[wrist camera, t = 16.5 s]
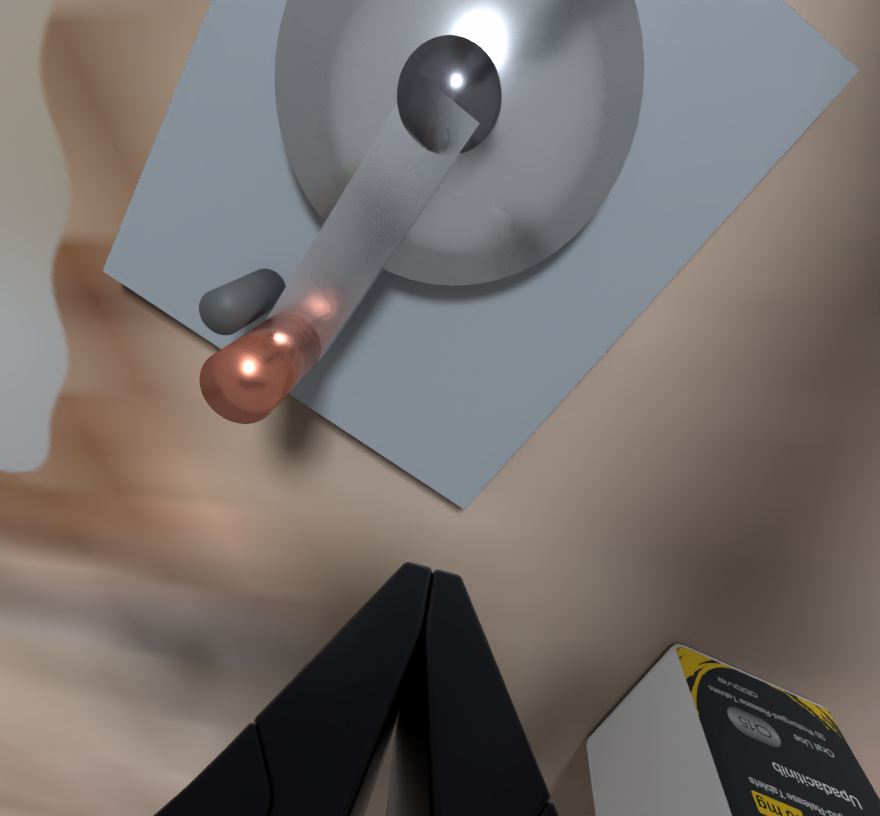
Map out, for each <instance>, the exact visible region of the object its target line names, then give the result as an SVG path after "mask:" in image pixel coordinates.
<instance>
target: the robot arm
mask: <svg viewBox="0 0 880 816" xmlns="http://www.w3.org/2000/svg"><path fill="white" fill-rule="evenodd" d="M398 712H399V713H398ZM397 716H398V718H397ZM396 719H397V723H396ZM395 723H396V730H395V737H394V745H393V754H392V764H391V774H390V783H389V793H388V802H387V812H386V816H559V815H558V813H557V810H556V808H555V805H554V804H553V803H549V801H550V794H549V791H548V789H547V786H546V784H545V781H544V779H543V776H542V774H541V772H540V769H539V767H538V764H537V762H536V759H535V757H534V754H533V752H532V749H531V747H530V745H529V742H528V740H527V737H526V735H525V732H524V730H523V727H522V725H521V722H520V720H519V718H518V715H517V713H516V710H515V708H514V705H513V703H512V700H511V698H510V695H509V693H508V691H507V688H506V686H505V683H504V681H503V678H502V676H501V673H500V671H499V668H498V666H497V664H496V661H495V659H494V656H493V654H492V651H491V649H490V646H489V644H488V641H487V639H486V637H485V634H484V632H483V629H482V627H481V624H480V622H479V619H478V617H477V614H476V612H475V610H474V607H473V605H472V602H471V600H470V597H469V595H468V592H467V590H466V587H465V585H464V583H463V580H462V578H461V577H460V576H459V575H457V574H453V573H449V572H445V571H441V570H435V571H434V572H433V573H432V570H431V569H430V568H429V567H426V566H422V565H418V564H414V563H411V562H407V563H404V564H403V565H402V566H401V567H400V568H399V569H398V570H397V571H396V572H395V573H394V574H393V575H392V576H391V577H390V578H389V580H388V581H387V582H386V583H385V584H384V585H383V586H382V587H381V588H380V589H379V590H378V591H377V592H376V593H375V594H374V595H373V596H372V597H371V598H370V599H369V600H368V601H367V602H366V603H365V604H364V606H363V607H362V608H361V609H360V610H359V611H358V612H357V613H356V614H355V615H354V616H353V617H352V618H351V619H350V620H349V621H348V622H347V623H346V624H345V625H344V626H343V627H342V628H341V629H340V630H339V631H338V633H337V634H336V635H335V636H334V637H333V638H332V639H331V640H330V641H329V642H328V643H327V644H326V645H325V646H324V647H323V648H322V649H321V650H320V651H319V652H318V653H317V654H316V655H315V656H314V657H313V659H312V660H311V661H310V662H309V663H308V664H307V665H306V666H305V667H304V668H303V669H302V670H301V671H300V672H299V673H298V674H297V675H296V676H295V677H294V678H293V679H292V680H291V681H290V682H289V683H288V685H287V686H286V687H285V688H284V689H283V690H282V691H281V692H280V693H279V694H278V695H277V696H276V697H275V698H274V699H273V700H272V701H271V702H270V703H269V704H268V705H267V706H266V707H265V708H264V709H263V711H262V712H261V713H260V714H259V715H258V716H257V717H256V718H255V720H254V724H253V723H251V724H249V725H248V726H247V727H246V728H245V729H244V730H243V731H242V732H241V733H240V734H239V735H238V736H237V737H236V738H235V739H234V740H233V741H232V742H231V743H230V744H229V745H228V746H227V747H226V749H225V750H223V751H222V752H221V753H220V754H219V755H218V756H217V757H216V758H215V759H214V760H213V761H212V762H211V763H210V764H209V765H208V766H207V767H206V768H205V769H204V770H203V771H202V772H201V773H200V774H199V775H198V776H197V777H196V778H195V779H194V780H193V781H192V782H191V783H190V784H189V785H188V786H187V787H186V788H184V789H183V790H182V791H181V792H180V793H179V794H178V795H177V796H175V797H174V798H173V799H172V800H171V801H170V802H169V803H167V804H166V805H165V806H164V807H163V808H162V809H161V810H160V811H158V812H157V813H156V814H155V815H154V816H364V814H365V811H366V808H367V805H368V802H369V800H370V797H371V794H372V791H373V788H374V785H375V782H376V779H377V777H378V774H379V771H380V768H381V765H382V762H383V759H384V756H385V754H386V751H387V748H388V745H389V742H390V739H391V736H392V732H393V729H394V726H395Z"/></svg>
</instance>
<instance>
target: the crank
mask: <svg viewBox="0 0 880 816" xmlns="http://www.w3.org/2000/svg"><path fill="white" fill-rule="evenodd" d="M274 82H275V97H276V109H277V115H278V120H279V126H280V131H281V135H282V139H283V142H284V146H285V149H286V152H287V156H288V159H289V161H290V163H291V166H292V168H293V171H294V173H295V175H296V178H297V180H298V182H299V184H300V186H301V187H302V189H303V191H304V193H305V194H306V196H307V198H308V200H309V202H310V203H311V204H312V206H313V207H314V209H315V210H316V211H317V213H318V214H319V215H320V217H321V218H322V220H323V221H324V222H325V223H324V225H323V226H322V228H321V230H320V231H319V233H318V235H317V236H316V238H315V240H314V241H313V243H312V245H311V246H310V248H309V250H308V251H307V253H306V255H305V256H304V258H303V259H302V261H301V263H300V264H299V266H298V268H297V269H296V271H295V273H294V274H293V276H292V278H291V279H290V281H289V283H288V284H287V286H286V288H285V289H284V291H283V293H282V294H281V296H280V297H279V299H278V301H277V302H276V304H275V306H274V307H273V309H272V311H271V312H270V314H269V316H268V317H267V319H266V320H265V321H264V322H262V323H261V324H259V325H258V326H256V327H255V328H253V329H252V330H250V331H249V332H247V333H246V334H244V335H242V336H241V337H239V338H238V339H236V340H235V341H233V342H232V343H230V344H229V345H227V346H226V347H224V348H223V349H221V350H220V351H218V352H217V353H215V354H213V355H212V356H211V357H209V358H208V359H207V360H206V362H205V363H204V365H203V367H202V369H201V372H200V388H201V391H202V394H203V396H204V398H205V400H206V402H207V403H208V404H209V406H210V407H211V408H212V409H213V410H214V411H215V412H216V413H217V414H219V415H220V416H222V417H223V418H225V419H227V420H229V421H232V422H236V423H241V424H250V423H255V422H258V421H260V420H262V419H264V418H265V417H266V416H267V415H268V414H269V413H270V412H271V411H272V410H273V409H274V408H275V407H276V406H277V405H278V404H279V403H280V402H281V401H282V400H283V399H284V398H285V397H286V396H287V395H288V393H289V392H290V391H291V390H292V389H293V388H294V387H295V386H296V385H297V384H298V383H299V382H300V381H301V380H302V379H303V378H304V377H305V376H306V375H307V373H308V372H309V371H310V370H311V369H312V368H313V367H314V366H315V365H316V364H317V362H318V361H319V360H320V359H321V358H322V357H323V356H324V355H325V354H326V353H327V352H328V350H329V349H330V347H331V346H332V345H333V343H334V342H335V340H336V339H337V337H338V336H339V334H340V333H341V331H342V330H343V328H344V327H345V325H346V324H347V323H348V321H349V320H350V318H351V317H352V315H353V314H354V312H355V311H356V309H357V308H358V306H359V305H360V303H361V302H362V301H363V299H364V298H365V296H366V295H367V293H368V292H369V290H370V289H371V287H372V286H373V284H374V283H375V281H376V280H377V278H378V277H379V276H380V274H381V273H382V271H383V270H384V269H385V270H387V271H389V272H391V273H393V274H396V275H399V276H402V277H405V278H408V279H411V280H414V281H419V282H424V283H429V284H436V285H450V286H459V285H475V284H481V283H486V282H491V281H496V280H499V279H502V278H505V277H508V276H511V275H514V274H517V273H519V272H521V271H523V270H525V269H528V268H530V267H532V266H534V265H536V264H538V263H539V262H541V261H542V260H544V259H545V258H547V257H549V256H550V255H552V254H553V253H555V252H556V251H558V250H559V249H560V248H561V247H562V246H563V245H565V244H566V243H567V242H568V241H569V240H571V239H572V238H573V237H574V236H575V235H576V234H577V233H578V232H579V231H580V230H581V229H582V228H583V227H584V226H585V225H586V223H587V222H588V221H589V220H590V219H591V218H592V217H593V215H594V214H595V213H596V211H597V210H598V209H599V207H600V206H601V205H602V203H603V202H604V200H605V199H606V198H607V196H608V194H609V193H610V191H611V189H612V187H613V185H614V184H615V182H616V180H617V178H618V177H619V175H620V173H621V170H622V168H623V166H624V163H625V161H626V158H627V156H628V154H629V151H630V149H631V145H632V142H633V138H634V135H635V132H636V128H637V125H638V120H639V114H640V109H641V103H642V97H643V83H644V53H643V38H642V32H641V27H640V21H639V16H638V11H637V6H636V3H635V0H287V2H286V6H285V9H284V13H283V16H282V20H281V24H280V28H279V35H278V41H277V48H276V55H275V79H274Z"/></svg>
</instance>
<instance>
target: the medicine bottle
mask: <svg viewBox="0 0 880 816" xmlns="http://www.w3.org/2000/svg"><path fill="white" fill-rule="evenodd" d="M586 746H587V753H588V761H589V769H590V776H591V784H592V792H593V800H594V807H595V815H596V816H880V799H879V797H878V796H877V794H876V792H875V791H874V789H873V787H872V785H871V784H870V782H869V780H868V778H867V777H866V775H865V773H864V771H863V770H862V768H861V766H860V765H859V763H858V761H857V759H856V758H855V756H854V754H853V752H852V751H851V749H850V747H849V746H848V744H847V742H846V740H845V739H844V737H843V735H842V733H841V732H840V730H839V728H838V726H837V725H836V723H835V721H834V720H833V718H832V716H831V714H830V713H829V711H828V710H827V709H826V708H825V707H823V706H822V705H819V704H817V703H815V702H813V701H810V700H808V699H806V698H803V697H801V696H799V695H797V694H794V693H792V692H790V691H788V690H785V689H783V688H781V687H778V686H776V685H774V684H772V683H769V682H767V681H765V680H762V679H760V678H758V677H756V676H753V675H751V674H749V673H746V672H744V671H742V670H740V669H737V668H735V667H733V666H731V665H728V664H726V663H724V662H721V661H719V660H717V659H715V658H712V657H710V656H708V655H705V654H703V653H701V652H699V651H696V650H694V649H692V648H689V647H687V646H685V645H682V644H675V645H673V646H672V647H671V648H670V649H669V650H668V651H667V652H666V653H665V654H664V655H663V656H662V658H661V659H660V660H659V661H658V662H657V663H656V664H655V665H654V666H653V667H652V669H651V670H650V671H649V672H648V673H647V674H646V675H645V676H644V677H643V678H642V680H641V681H640V682H639V683H638V684H637V685H636V686H635V687H634V688H633V689H632V691H631V692H630V693H629V694H628V695H627V696H626V697H625V698H624V699H623V701H622V702H621V703H620V704H619V705H618V706H617V707H616V708H615V709H614V710H613V712H612V713H611V714H610V715H609V716H608V717H607V718H606V719H605V720H604V721H603V723H602V724H601V725H600V726H599V727H598V728H597V729H596V730H595V731H594V733H593V734H592V735H591V736H590V737H589V738H588V740H587V744H586Z"/></svg>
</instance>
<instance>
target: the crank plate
mask: <svg viewBox="0 0 880 816" xmlns="http://www.w3.org/2000/svg"><path fill="white" fill-rule="evenodd" d="M286 2H287V0H211V2H210V5H209V7H208V10H207V12H206V15H205V17H204V20H203V22H202V25H201V27H200V30H199V32H198V35H197V37H196V40H195V42H194V45H193V47H192V50H191V52H190V55H189V57H188V60H187V62H186V65H185V67H184V70H183V72H182V75H181V77H180V80H179V82H178V85H177V87H176V90H175V92H174V95H173V97H172V100H171V102H170V105H169V107H168V110H167V112H166V115H165V117H164V119H163V122H162V124H161V127H160V129H159V132H158V134H157V137H156V139H155V142H154V144H153V147H152V149H151V152H150V154H149V157H148V159H147V162H146V164H145V167H144V169H143V172H142V174H141V177H140V179H139V182H138V184H137V187H136V189H135V192H134V194H133V197H132V199H131V202H130V204H129V207H128V209H127V212H126V214H125V217H124V219H123V222H122V224H121V227H120V229H119V232H118V234H117V237H116V239H115V242H114V244H113V247H112V249H111V252H110V254H109V257H108V259H107V262H106V264H105V267H104V269H103V271H104V272H105V273H107V274H108V275H110V276H111V277H113V278H114V279H116V280H117V281H119V282H120V283H122V284H123V285H125V286H126V287H128V288H129V289H131V290H132V291H134V292H135V293H137V294H138V295H140V296H141V297H143V298H144V299H146V300H147V301H149V302H150V303H152V304H154V305H155V306H157V307H158V308H160V309H161V310H163V311H164V312H166V313H167V314H169V315H170V316H172V317H173V318H175V319H176V320H178V321H179V322H181V323H182V324H184V325H185V326H187V327H188V328H190V329H191V330H193V331H194V332H196V333H197V334H199V335H200V336H202V337H203V338H205V339H207V340H208V341H210V342H211V343H213V344H214V345H216V346H217V347H219V348H220V349H223V348H224V347H226V346H227V345H229V344H230V343H232V342H233V341H235V340H236V339H238V338H239V337H241V336H242V335H244V334H246V333H247V332H249V331H250V330H252V329H253V328H255V327H256V326H258V325H259V324H261V323H262V322H264V321H265V320H266V319H267V317H268V316H269V314H270V312H271V311H272V309H273V307H274V306H275V304H276V302H277V301H278V299H279V297H280V296H281V294H282V293H283V291H284V289H285V288H286V286H287V284H288V283H289V281H290V279H291V278H292V276H293V274H294V273H295V271H296V269H297V268H298V266H299V264H300V263H301V261H302V259H303V258H304V256H305V255H306V253H307V251H308V250H309V248H310V246H311V245H312V243H313V241H314V240H315V238H316V236H317V235H318V233H319V231H320V230H321V228H322V226H323V225H324V223H325V222H324V221H323V220H322V218H321V217H320V215H319V214H318V213H317V211H316V210H315V209H314V207H313V206H312V204H311V203H310V202H309V200H308V198H307V196H306V194H305V193H304V191H303V189H302V187H301V186H300V184H299V182H298V180H297V178H296V175H295V173H294V171H293V168H292V166H291V163H290V161H289V159H288V156H287V152H286V149H285V146H284V142H283V139H282V135H281V131H280V126H279V120H278V115H277V109H276V97H275V82H274V79H275V55H276V48H277V41H278V35H279V28H280V24H281V20H282V16H283V13H284V9H285V6H286ZM635 3H636V6H637V11H638V16H639V21H640V27H641V32H642V38H643V53H644V83H643V97H642V103H641V109H640V114H639V120H638V125H637V128H636V132H635V135H634V138H633V142H632V145H631V149H630V151H629V154H628V156H627V158H626V161H625V163H624V166H623V168H622V170H621V173H620V175H619V177H618V178H617V180H616V182H615V184H614V185H613V187H612V189H611V191H610V193H609V194H608V196H607V198H606V199H605V200H604V202H603V203H602V205H601V206H600V207H599V209H598V210H597V211H596V213H595V214H594V215H593V217H592V218H591V219H590V220H589V221H588V222H587V223H586V225H585V226H584V227H583V228H582V229H581V230H580V231H579V232H578V233H577V234H576V235H575V236H574V237H573V238H572V239H571V240H569V241H568V242H567V243H566V244H565V245H563V246H562V247H561V248H560V249H559V250H558V251H556V252H555V253H553V254H552V255H550V256H549V257H547V258H545V259H544V260H542V261H541V262H539V263H538V264H536V265H534V266H532V267H530V268H528V269H525V270H523V271H521V272H519V273H517V274H514V275H511V276H508V277H505V278H502V279H499V280H496V281H491V282H486V283H481V284H475V285H459V286H450V285H436V284H429V283H424V282H419V281H414V280H411V279H408V278H405V277H402V276H399V275H396V274H393V273H391V272H389V271H387V270H385V269H384V270H383V271H382V273H381V274H380V276H379V277H378V278H377V280H376V281H375V283H374V284H373V286H372V287H371V289H370V290H369V292H368V293H367V295H366V296H365V298H364V299H363V301H362V302H361V303H360V305H359V306H358V308H357V309H356V311H355V312H354V314H353V315H352V317H351V318H350V320H349V321H348V323H347V324H346V325H345V327H344V328H343V330H342V331H341V333H340V334H339V336H338V337H337V339H336V340H335V342H334V343H333V345H332V346H331V347H330V349H329V350H328V352H327V353H326V354H325V355H324V356H323V357H322V358H321V359H320V360H319V361H318V362H317V364H316V365H315V366H314V367H313V368H312V369H311V370H310V371H309V372H308V373H307V375H306V376H305V377H304V378H303V379H302V380H301V381H300V382H299V383H298V384H297V385H296V386H295V387H294V388H293V389H292V390H291V391H290V392H289V393H288V394H290V395H291V396H293V397H294V398H296V399H297V400H299V401H300V402H302V403H303V404H305V405H306V406H308V407H309V408H311V409H313V410H314V411H316V412H317V413H319V414H320V415H322V416H323V417H325V418H326V419H328V420H329V421H331V422H332V423H334V424H335V425H337V426H338V427H340V428H341V429H343V430H344V431H346V432H347V433H349V434H350V435H352V436H353V437H355V438H356V439H358V440H359V441H361V442H362V443H364V444H365V445H367V446H369V447H370V448H372V449H373V450H375V451H376V452H378V453H379V454H381V455H382V456H384V457H385V458H387V459H388V460H390V461H391V462H393V463H394V464H396V465H397V466H399V467H400V468H402V469H403V470H405V471H406V472H408V473H409V474H411V475H412V476H414V477H415V478H417V479H418V480H420V481H422V482H423V483H425V484H426V485H428V486H429V487H431V488H432V489H434V490H435V491H437V492H438V493H440V494H441V495H443V496H444V497H446V498H447V499H449V500H450V501H452V502H453V503H455V504H456V505H458V506H459V507H461V508H462V509H465V508H466V507H467V506H468V505H469V503H470V502H471V501H472V500H473V499H474V498H475V497H476V496H477V495H478V493H479V492H480V491H481V490H482V489H483V488H484V487H485V486H486V485H487V483H488V482H489V481H490V480H491V479H492V478H493V477H494V476H495V475H496V473H497V472H498V471H499V470H500V469H501V468H502V467H503V466H504V465H505V463H506V462H507V461H508V460H509V459H510V458H511V457H512V456H513V455H514V453H515V452H516V451H517V450H518V449H519V448H520V447H521V446H522V445H523V444H524V442H525V441H526V440H527V439H528V438H529V437H530V436H531V435H532V434H533V432H534V431H535V430H536V429H537V428H538V427H539V426H540V425H541V424H542V422H543V421H544V420H545V419H546V418H547V417H548V416H549V415H550V414H551V412H552V411H553V410H554V409H555V408H556V407H557V406H558V405H559V404H560V402H561V401H562V400H563V399H564V398H565V397H566V396H567V395H568V394H569V392H570V391H571V390H572V389H573V388H574V387H575V386H576V385H577V384H578V382H579V381H580V380H581V379H582V378H583V377H584V376H585V375H586V374H587V372H588V371H589V370H590V369H591V368H592V367H593V366H594V365H595V364H596V362H597V361H598V360H599V359H600V358H601V357H602V356H603V355H604V354H605V352H606V351H607V350H608V349H609V348H610V347H611V346H612V345H613V344H614V342H615V341H616V340H617V339H618V338H619V337H620V336H621V335H622V334H623V332H624V331H625V330H626V329H627V328H628V327H629V326H630V325H631V324H632V322H633V321H634V320H635V319H636V318H637V317H638V316H639V315H640V314H641V312H642V311H643V310H644V309H645V308H646V307H647V306H648V305H649V304H650V302H651V301H652V300H653V299H654V298H655V297H656V296H657V295H658V294H659V292H660V291H661V290H662V289H663V288H664V287H665V286H666V285H667V284H668V282H669V281H670V280H671V279H672V278H673V277H674V276H675V275H676V274H677V272H678V271H679V270H680V269H681V268H682V267H683V266H684V265H685V264H686V262H687V261H688V260H689V259H690V258H691V257H692V256H693V255H694V254H695V252H696V251H697V250H698V249H699V248H700V247H701V246H702V245H703V244H704V242H705V241H706V240H707V239H708V238H709V237H710V236H711V235H712V234H713V232H714V231H715V230H716V229H717V228H718V227H719V226H720V225H721V224H722V222H723V221H724V220H725V219H726V218H727V217H728V216H729V215H730V214H731V213H732V211H733V210H734V209H735V208H736V207H737V206H738V205H739V204H740V203H741V201H742V200H743V199H744V198H745V197H746V196H747V195H748V194H749V193H750V191H751V190H752V189H753V188H754V187H755V186H756V185H757V184H758V183H759V181H760V180H761V179H762V178H763V177H764V176H765V175H766V174H767V173H768V171H769V170H770V169H771V168H772V167H773V166H774V165H775V164H776V163H777V161H778V160H779V159H780V158H781V157H782V156H783V155H784V154H785V153H786V151H787V150H788V149H789V148H790V147H791V146H792V145H793V144H794V143H795V141H796V140H797V139H798V138H799V137H800V136H801V135H802V134H803V133H804V131H805V130H806V129H807V128H808V127H809V126H810V125H811V124H812V123H813V121H814V120H815V119H816V118H817V117H818V116H819V115H820V114H821V113H822V111H823V110H824V109H825V108H826V107H827V106H828V105H829V104H830V103H831V101H832V100H833V99H834V98H835V97H836V96H837V95H838V94H839V93H840V91H841V90H842V89H843V88H844V87H845V86H846V85H847V84H848V83H849V81H850V80H851V79H852V78H853V77H854V76H855V75H856V74H857V73H858V71H859V69H858V68H857V67H856V66H854V65H853V64H852V63H851V62H850V61H849V60H848V59H847V58H846V57H845V56H844V55H843V54H841V53H840V52H839V51H838V50H837V49H836V48H835V47H834V46H833V45H832V44H831V43H830V42H829V41H827V40H826V39H825V38H824V37H823V36H822V35H821V34H820V33H819V32H818V31H817V30H816V29H814V28H813V27H812V26H811V25H810V24H809V23H808V22H807V21H806V20H805V19H804V18H803V17H801V16H800V15H799V14H798V13H797V12H796V11H795V10H794V9H793V8H792V7H791V6H790V5H788V4H787V3H786V2H785V1H784V0H635Z"/></svg>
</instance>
